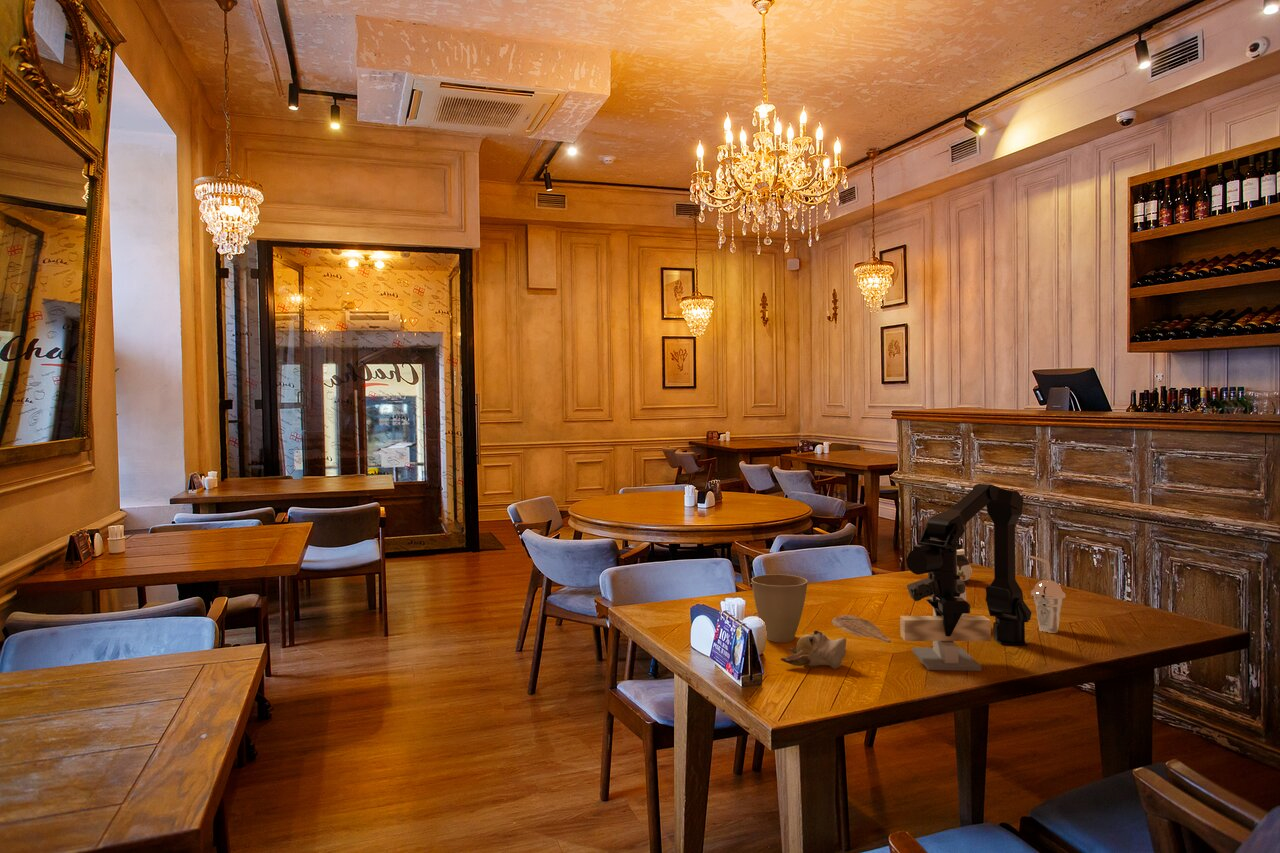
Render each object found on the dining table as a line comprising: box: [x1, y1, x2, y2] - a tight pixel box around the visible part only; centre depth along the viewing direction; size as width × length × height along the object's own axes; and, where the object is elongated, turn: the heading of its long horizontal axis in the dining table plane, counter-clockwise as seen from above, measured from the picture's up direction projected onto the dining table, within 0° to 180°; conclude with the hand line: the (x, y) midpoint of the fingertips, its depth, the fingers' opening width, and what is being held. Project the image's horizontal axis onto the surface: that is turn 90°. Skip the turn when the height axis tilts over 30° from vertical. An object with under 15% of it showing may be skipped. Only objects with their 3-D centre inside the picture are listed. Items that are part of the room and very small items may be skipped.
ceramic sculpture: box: [780, 630, 847, 669], centre depth 181 cm, size 11×9×15 cm
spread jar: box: [957, 548, 973, 584], centre depth 268 cm, size 12×11×12 cm
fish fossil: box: [831, 614, 892, 643], centre depth 210 cm, size 26×10×1 cm, turn 16°
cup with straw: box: [1028, 554, 1067, 634], centre depth 206 cm, size 8×9×20 cm
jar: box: [932, 580, 968, 616], centre depth 214 cm, size 9×8×12 cm
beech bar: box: [899, 615, 992, 642], centre depth 183 cm, size 20×4×5 cm, turn 86°
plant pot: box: [750, 573, 809, 643], centre depth 203 cm, size 15×15×16 cm
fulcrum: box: [911, 641, 982, 672], centre depth 183 cm, size 12×14×5 cm
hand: (945, 633), depth 183 cm, fingers closed on beech bar, 4 cm apart
